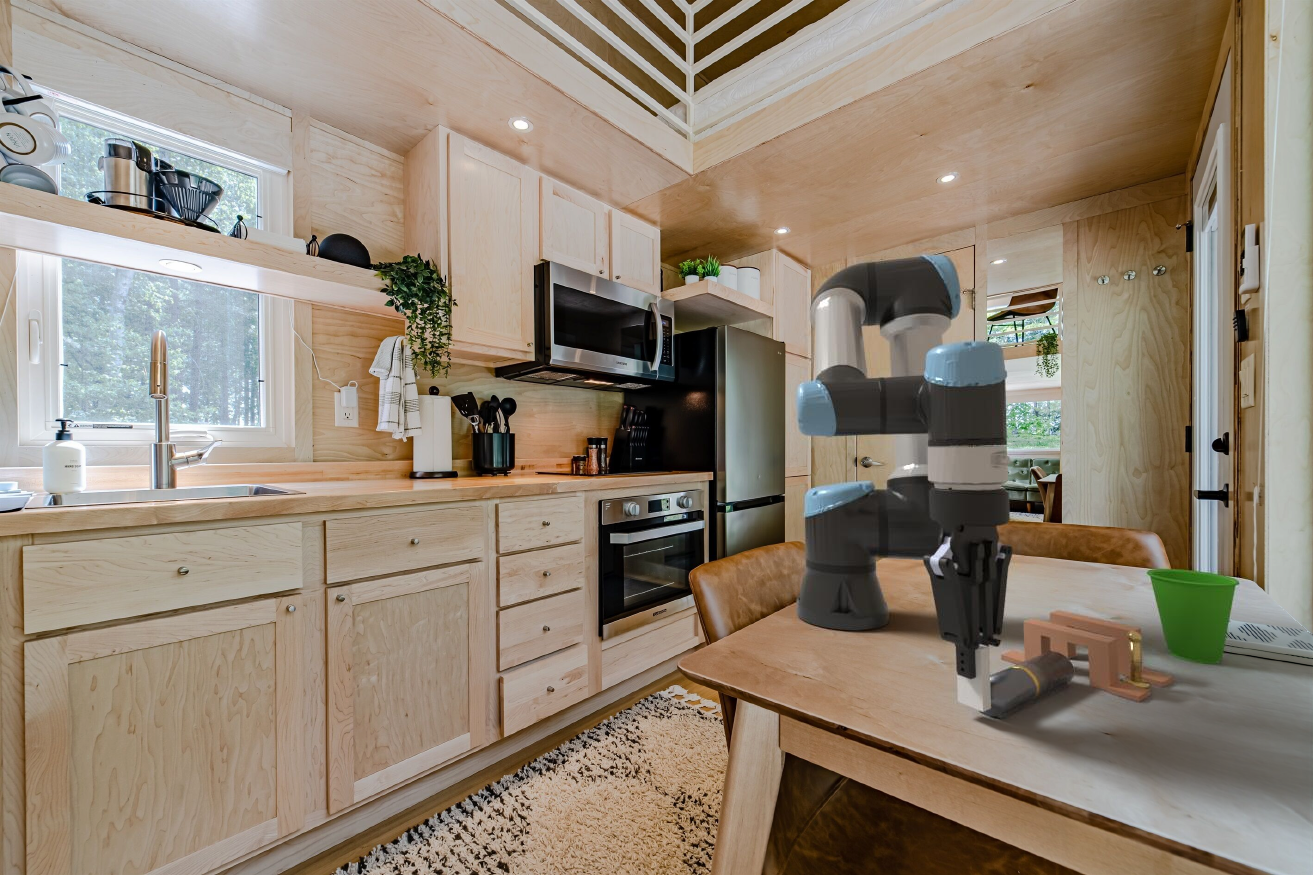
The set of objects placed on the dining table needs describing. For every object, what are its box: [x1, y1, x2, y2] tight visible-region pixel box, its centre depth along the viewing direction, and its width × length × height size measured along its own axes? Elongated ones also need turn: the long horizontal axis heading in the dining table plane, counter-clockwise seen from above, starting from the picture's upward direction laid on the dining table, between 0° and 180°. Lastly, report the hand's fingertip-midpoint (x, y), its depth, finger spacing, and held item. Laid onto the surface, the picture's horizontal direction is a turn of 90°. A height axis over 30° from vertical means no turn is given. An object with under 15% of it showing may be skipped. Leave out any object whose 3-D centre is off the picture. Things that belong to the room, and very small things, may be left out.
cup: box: [1146, 568, 1240, 665], centre depth 74 cm, size 9×9×11 cm
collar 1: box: [1000, 618, 1151, 703], centre depth 68 cm, size 15×3×6 cm, turn 30°
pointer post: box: [1122, 631, 1151, 690], centre depth 65 cm, size 2×2×6 cm
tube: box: [978, 651, 1075, 720], centre depth 63 cm, size 16×4×4 cm, turn 120°
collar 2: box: [1049, 609, 1174, 688], centre depth 72 cm, size 15×3×6 cm, turn 30°
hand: (974, 704), depth 58 cm, fingers closed
